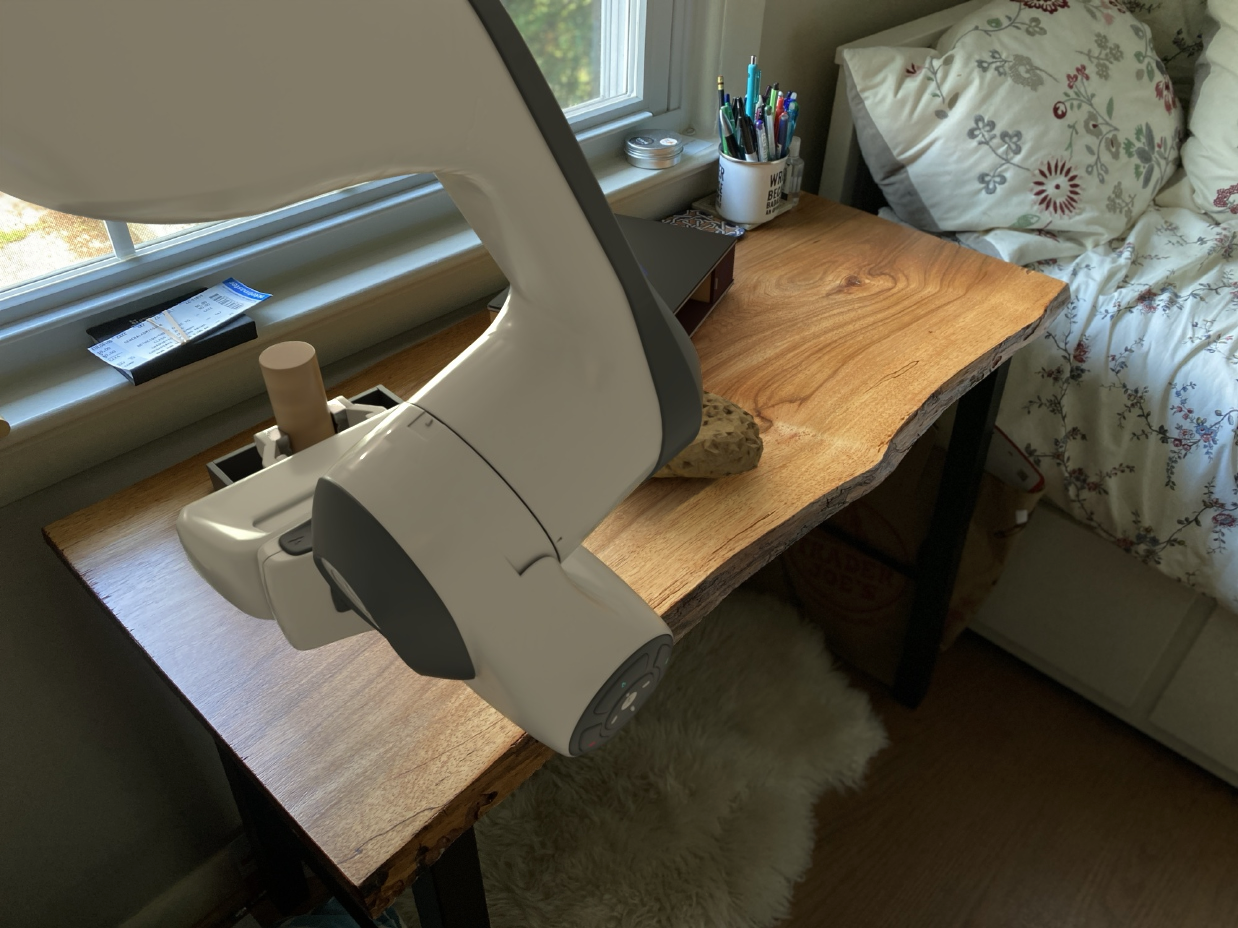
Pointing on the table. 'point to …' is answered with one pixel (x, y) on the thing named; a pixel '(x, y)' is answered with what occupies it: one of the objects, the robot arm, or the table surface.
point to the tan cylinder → (297, 393)
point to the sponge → (719, 443)
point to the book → (675, 267)
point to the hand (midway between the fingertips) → (299, 424)
